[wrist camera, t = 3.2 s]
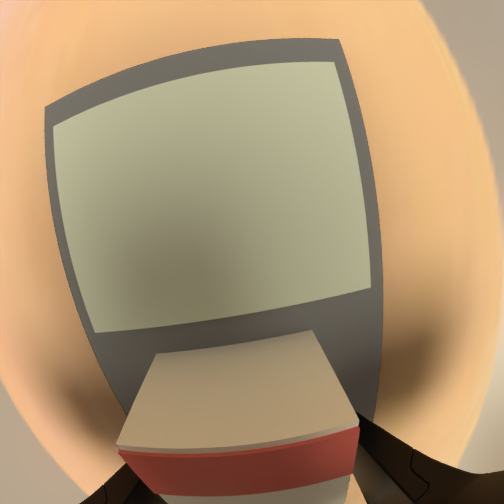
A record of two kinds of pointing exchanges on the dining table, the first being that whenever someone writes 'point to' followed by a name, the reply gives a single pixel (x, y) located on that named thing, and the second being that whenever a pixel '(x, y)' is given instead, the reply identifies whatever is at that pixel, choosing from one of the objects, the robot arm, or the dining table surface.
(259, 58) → the mat
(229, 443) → the card box
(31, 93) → the dining table surface
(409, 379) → the dining table surface
